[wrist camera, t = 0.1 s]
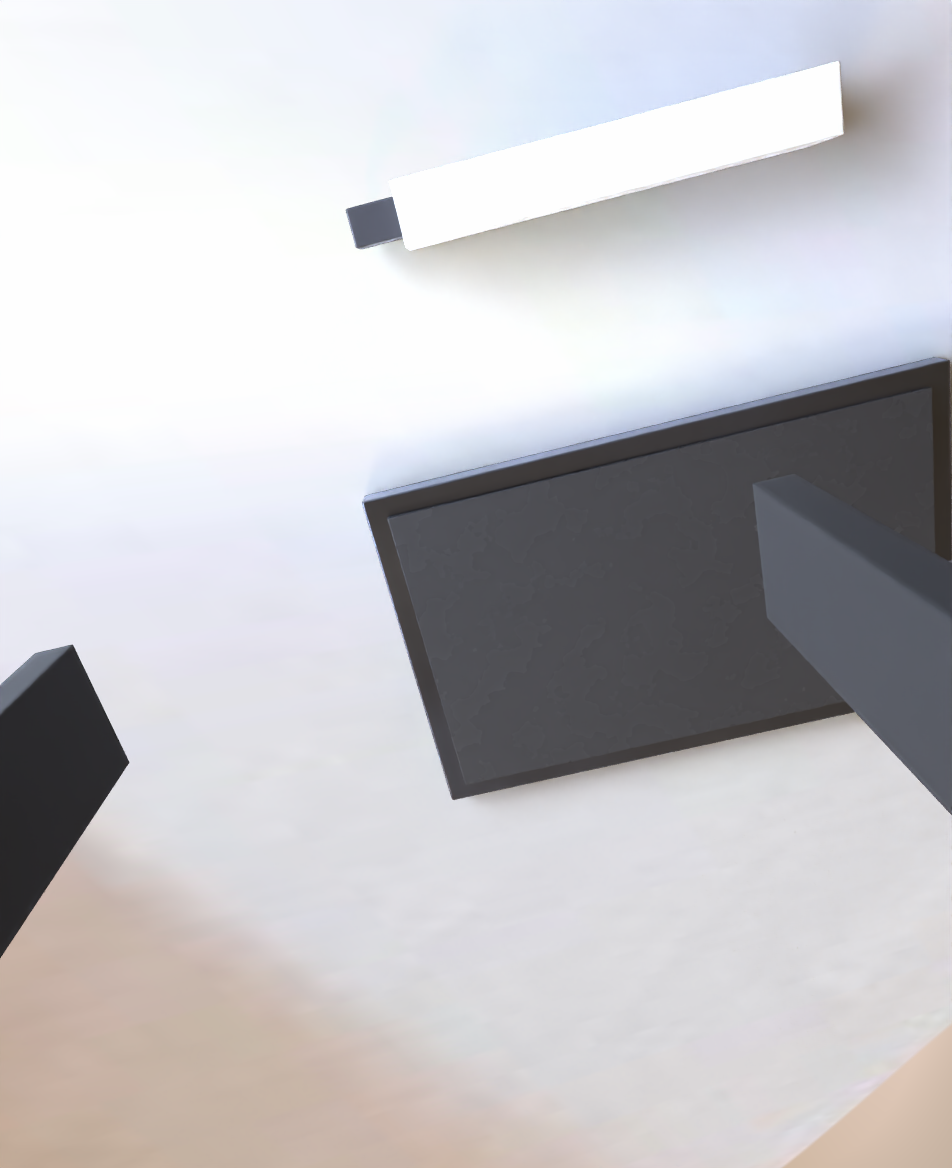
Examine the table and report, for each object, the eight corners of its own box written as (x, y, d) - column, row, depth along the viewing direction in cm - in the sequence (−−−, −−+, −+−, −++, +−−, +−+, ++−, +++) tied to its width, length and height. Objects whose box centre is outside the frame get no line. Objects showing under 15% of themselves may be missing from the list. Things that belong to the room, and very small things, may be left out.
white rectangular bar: (348, 200, 26) (339, 193, 24) (806, 78, 26) (840, 59, 23) (364, 262, 27) (357, 261, 25) (811, 146, 26) (844, 134, 24)
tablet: (364, 495, 30) (360, 503, 29) (934, 356, 29) (954, 359, 28) (452, 787, 35) (452, 803, 34) (941, 679, 34) (957, 693, 33)
